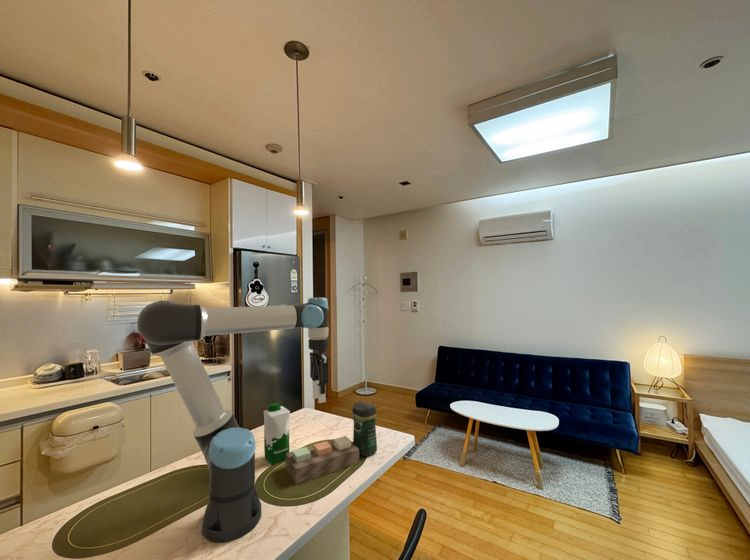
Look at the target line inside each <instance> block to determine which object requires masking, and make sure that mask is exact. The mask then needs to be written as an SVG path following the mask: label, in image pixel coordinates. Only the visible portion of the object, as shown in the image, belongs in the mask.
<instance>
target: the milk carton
mask: <svg viewBox="0 0 750 560" xmlns="http://www.w3.org/2000/svg"><path fill="white" fill-rule="evenodd" d="M290 416H291V411H290V410H289V409H287V407H284V406H283V405H281V404H280V402H272V403H270V404H269V406H268V409H266V410H263V420H264V421H263V422H264V423H263V424H264V425H263V433H264V434H263V435H264V436H263V437H264V439H263V442H264V443H263V444H264V445H263V447H264V450H263V451H264V459H265V460H266V461H268V463H269V464H270V465H271V466H274V465H277V464H279V463H282V462H284V461H285V462H286V453H289V452H290Z"/></svg>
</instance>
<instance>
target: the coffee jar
mask: <svg viewBox="0 0 750 560" xmlns="http://www.w3.org/2000/svg"><path fill="white" fill-rule="evenodd" d="M351 411H352V413H351V414H352V421H353V433H352V434H353V437H352V443H353V444H354V445H355V446H356V447H357V448H359V456H360V455H361V456H363V457H367V456H373V455H374V454H375V453H377V451H378V442H377V441H378V440H377V432H376V431H377V430H376V429H377V428H376V418H377V407H376V406H375V405H373V404H370V403H367V402H363V401H359V402H358V401H357V402H355V403H354V404H353V405H352V410H351Z"/></svg>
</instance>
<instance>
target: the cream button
mask: <svg viewBox="0 0 750 560" xmlns="http://www.w3.org/2000/svg"><path fill="white" fill-rule="evenodd" d="M333 440H334V446H335V447H336V448H337V449H338V450H342V449H345V448H349V447H351V442H352V440H351V439H350V438H348V437H347V436H346V435H344V436H340V437H336V438H333Z"/></svg>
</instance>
